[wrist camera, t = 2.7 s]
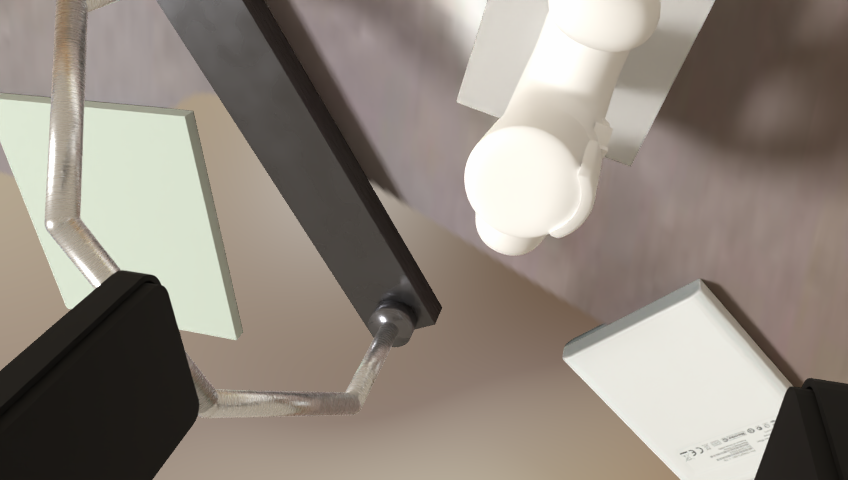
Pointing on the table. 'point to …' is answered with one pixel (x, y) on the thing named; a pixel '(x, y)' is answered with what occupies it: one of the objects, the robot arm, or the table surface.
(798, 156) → the table surface
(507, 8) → the figurine
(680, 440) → the external hard drive
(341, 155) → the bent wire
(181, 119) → the mat
